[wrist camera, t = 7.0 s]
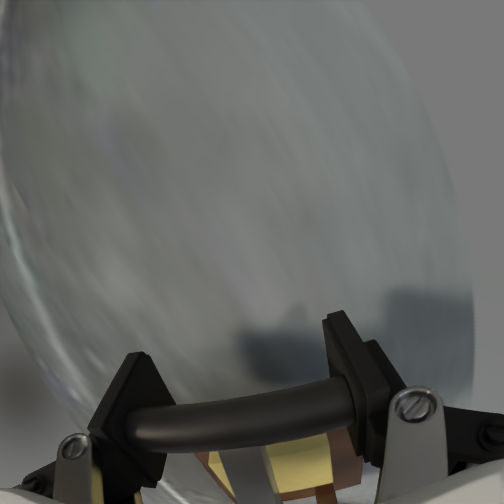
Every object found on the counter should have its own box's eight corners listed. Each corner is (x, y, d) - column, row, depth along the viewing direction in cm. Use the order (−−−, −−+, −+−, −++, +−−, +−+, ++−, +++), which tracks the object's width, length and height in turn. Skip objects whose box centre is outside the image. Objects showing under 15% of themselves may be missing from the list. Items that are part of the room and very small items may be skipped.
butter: (213, 413, 12) (207, 464, 9) (315, 394, 12) (329, 445, 9) (236, 453, 13) (234, 498, 10) (322, 438, 13) (333, 482, 10)
